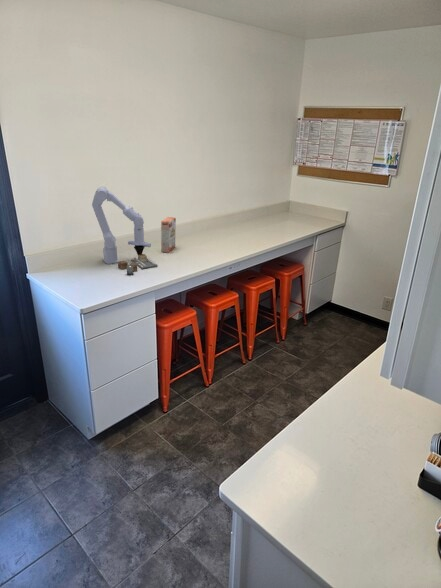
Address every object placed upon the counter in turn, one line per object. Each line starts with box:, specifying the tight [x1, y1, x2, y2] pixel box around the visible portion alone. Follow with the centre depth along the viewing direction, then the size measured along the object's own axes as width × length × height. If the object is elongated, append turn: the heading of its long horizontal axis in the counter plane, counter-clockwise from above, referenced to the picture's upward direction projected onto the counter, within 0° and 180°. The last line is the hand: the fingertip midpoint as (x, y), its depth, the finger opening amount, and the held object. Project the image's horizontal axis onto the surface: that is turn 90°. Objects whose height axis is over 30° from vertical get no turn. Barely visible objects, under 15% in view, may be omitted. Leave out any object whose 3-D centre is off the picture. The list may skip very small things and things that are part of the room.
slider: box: [137, 253, 148, 262], centre depth 243 cm, size 4×4×4 cm
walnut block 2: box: [128, 262, 138, 273], centre depth 230 cm, size 4×4×4 cm
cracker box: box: [160, 216, 177, 254], centre depth 265 cm, size 14×6×21 cm, turn 168°
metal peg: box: [126, 264, 134, 276], centre depth 224 cm, size 4×4×5 cm
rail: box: [131, 257, 159, 270], centre depth 241 cm, size 16×10×2 cm, turn 34°
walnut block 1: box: [117, 259, 129, 271], centre depth 233 cm, size 4×4×4 cm
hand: (139, 256), depth 246 cm, fingers closed
